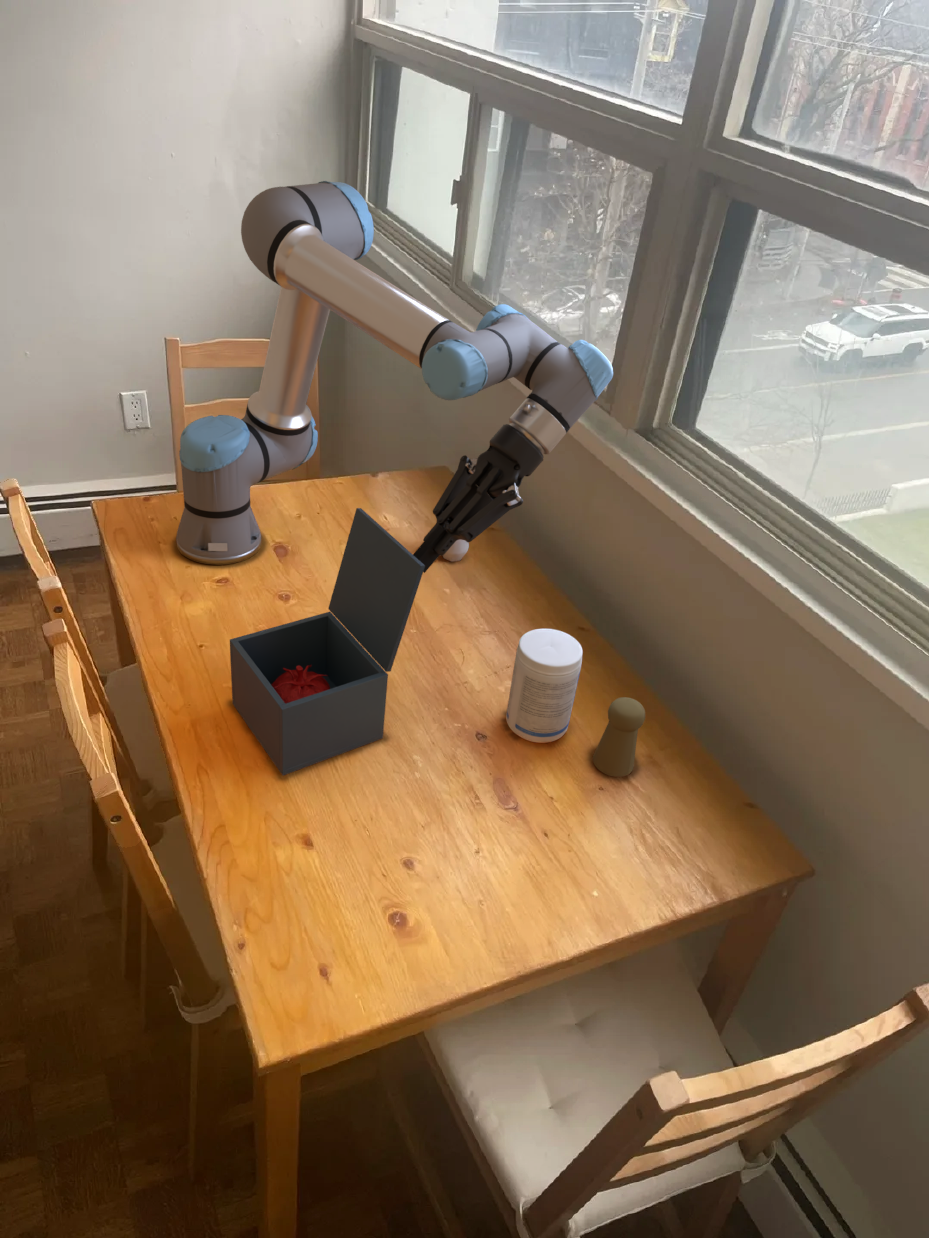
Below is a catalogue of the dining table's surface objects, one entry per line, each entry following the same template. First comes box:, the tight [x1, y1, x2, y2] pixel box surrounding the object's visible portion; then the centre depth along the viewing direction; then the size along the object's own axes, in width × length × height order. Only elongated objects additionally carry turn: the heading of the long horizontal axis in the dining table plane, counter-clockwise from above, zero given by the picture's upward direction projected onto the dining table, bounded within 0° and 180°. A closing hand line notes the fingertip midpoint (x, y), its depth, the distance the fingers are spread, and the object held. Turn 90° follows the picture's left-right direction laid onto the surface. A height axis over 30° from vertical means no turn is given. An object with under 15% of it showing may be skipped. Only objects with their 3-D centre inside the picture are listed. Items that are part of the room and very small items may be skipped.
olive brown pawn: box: [592, 696, 646, 778], centre depth 129 cm, size 6×6×11 cm
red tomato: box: [271, 665, 330, 704], centre depth 128 cm, size 10×10×9 cm
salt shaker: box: [442, 539, 470, 563], centre depth 171 cm, size 6×6×13 cm
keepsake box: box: [229, 611, 389, 777], centre depth 128 cm, size 16×17×12 cm
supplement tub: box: [505, 628, 584, 744], centre depth 133 cm, size 10×10×15 cm
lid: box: [327, 507, 425, 673], centre depth 125 cm, size 17×17×1 cm
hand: (416, 566), depth 128 cm, fingers closed
